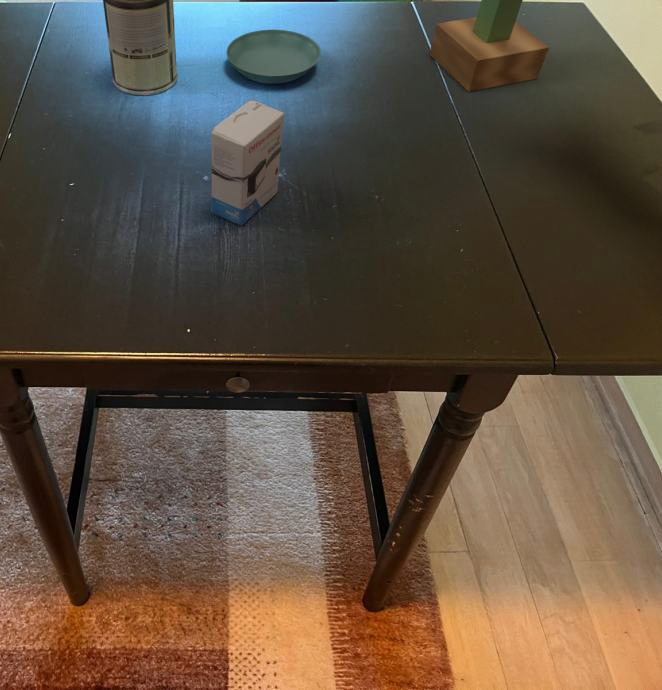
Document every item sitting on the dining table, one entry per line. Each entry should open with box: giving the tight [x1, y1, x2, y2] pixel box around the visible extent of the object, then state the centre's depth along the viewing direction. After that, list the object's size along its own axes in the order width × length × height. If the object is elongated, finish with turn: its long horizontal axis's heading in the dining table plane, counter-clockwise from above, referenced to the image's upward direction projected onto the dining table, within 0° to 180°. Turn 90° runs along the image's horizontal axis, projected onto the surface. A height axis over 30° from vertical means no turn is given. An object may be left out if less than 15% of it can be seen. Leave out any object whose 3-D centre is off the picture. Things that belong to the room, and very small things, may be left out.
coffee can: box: [102, 0, 178, 96], centre depth 102 cm, size 10×10×14 cm
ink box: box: [211, 99, 285, 227], centre depth 83 cm, size 8×5×12 cm, turn 143°
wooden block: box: [428, 16, 550, 93], centre depth 106 cm, size 12×12×5 cm
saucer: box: [226, 29, 322, 85], centre depth 108 cm, size 15×15×3 cm
